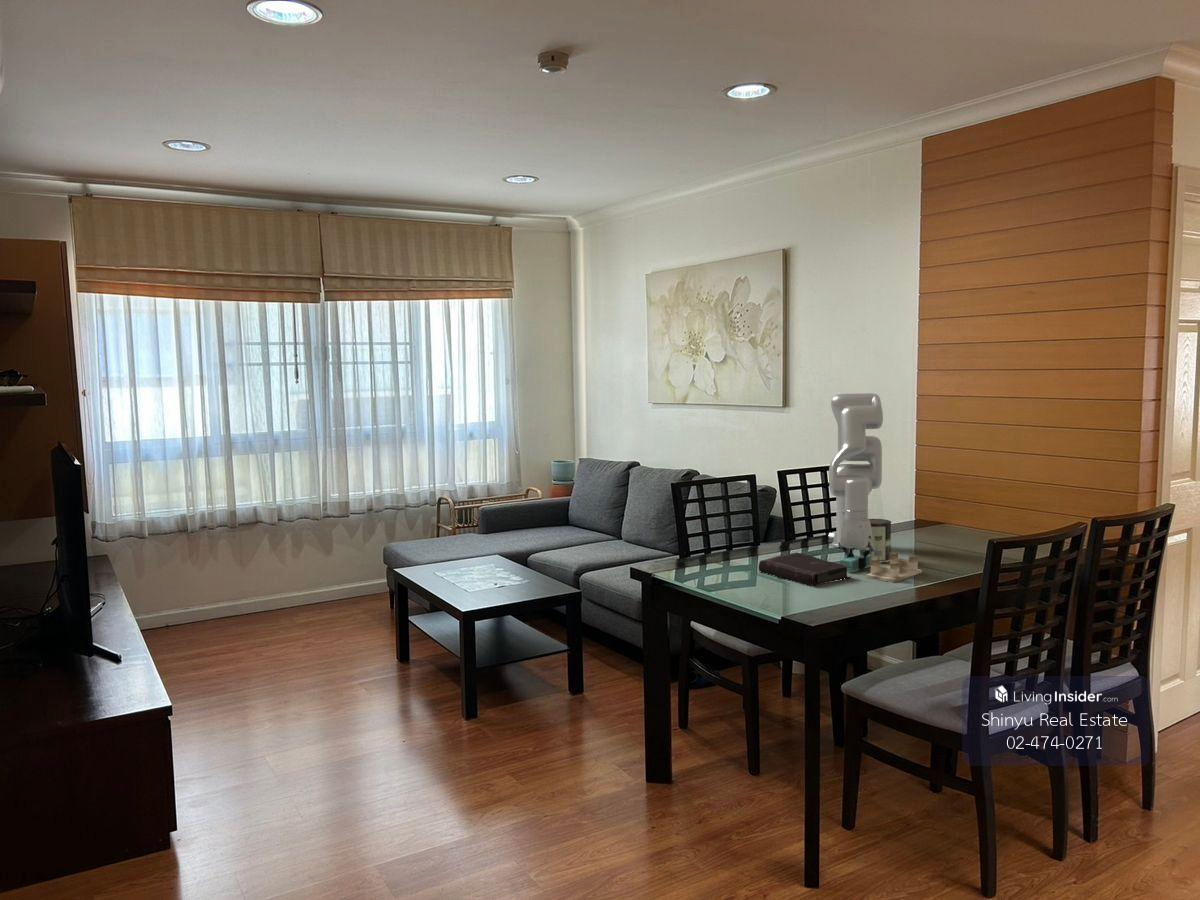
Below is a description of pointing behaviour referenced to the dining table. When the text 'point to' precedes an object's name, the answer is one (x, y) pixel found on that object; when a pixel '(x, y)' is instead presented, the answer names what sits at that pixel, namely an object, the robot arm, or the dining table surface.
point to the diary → (803, 569)
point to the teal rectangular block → (855, 562)
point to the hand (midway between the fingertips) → (856, 567)
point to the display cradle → (894, 568)
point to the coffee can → (881, 539)
